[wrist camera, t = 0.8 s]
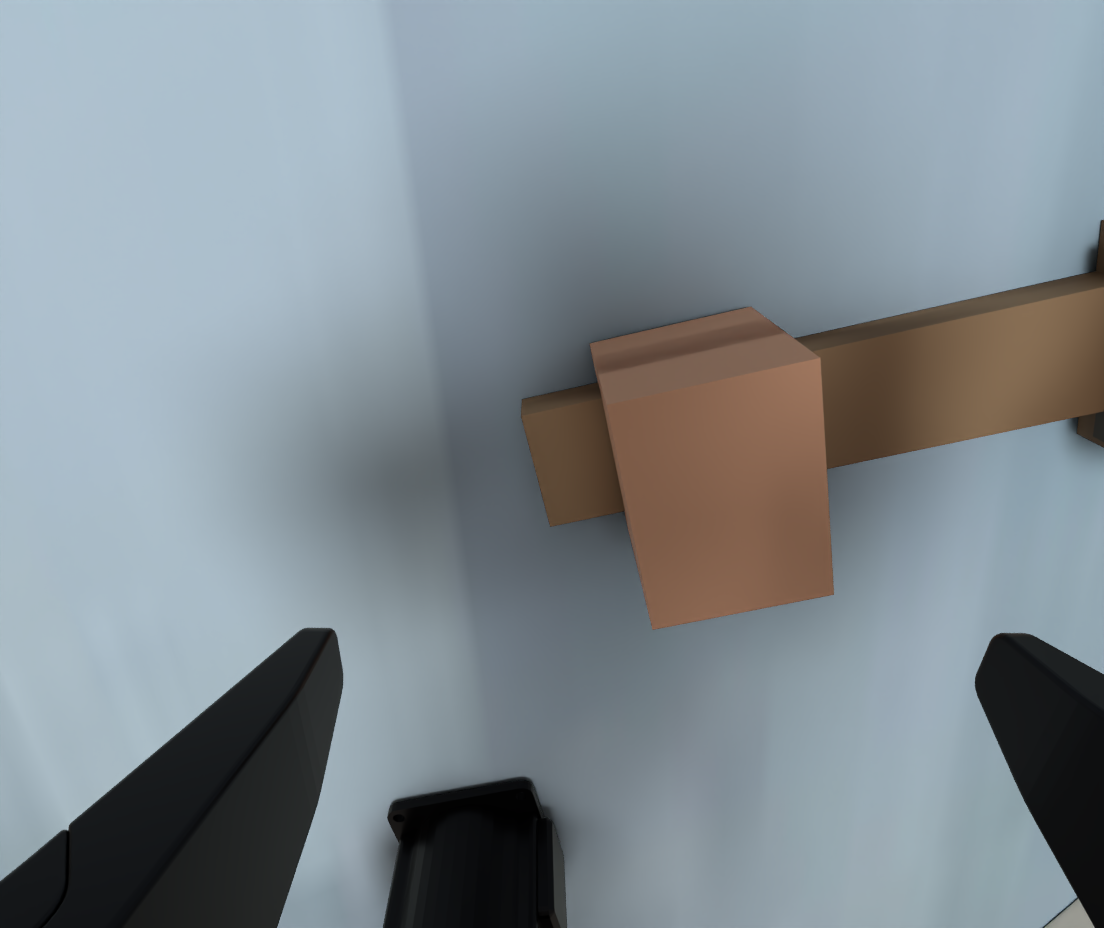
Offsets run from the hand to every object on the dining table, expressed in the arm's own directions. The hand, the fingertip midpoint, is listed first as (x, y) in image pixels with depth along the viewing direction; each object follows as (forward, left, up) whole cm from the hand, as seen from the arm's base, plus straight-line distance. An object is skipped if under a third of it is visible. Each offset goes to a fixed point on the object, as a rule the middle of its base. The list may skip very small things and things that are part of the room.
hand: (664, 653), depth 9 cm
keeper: (+3, -3, -13) cm, 14 cm away
